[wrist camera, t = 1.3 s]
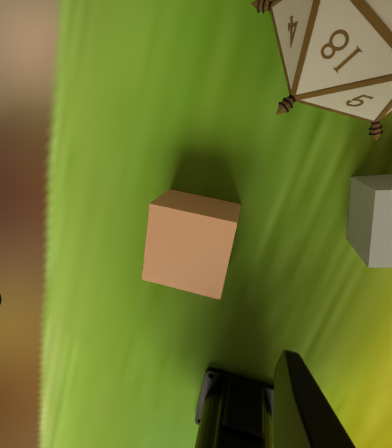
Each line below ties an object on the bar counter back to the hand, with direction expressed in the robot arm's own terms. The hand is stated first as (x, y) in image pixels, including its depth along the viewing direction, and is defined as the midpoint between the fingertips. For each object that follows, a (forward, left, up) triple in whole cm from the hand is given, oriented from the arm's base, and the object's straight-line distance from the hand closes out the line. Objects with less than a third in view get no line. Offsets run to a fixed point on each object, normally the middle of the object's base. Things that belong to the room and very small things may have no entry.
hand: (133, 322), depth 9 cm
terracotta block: (-1, 0, -12) cm, 12 cm away
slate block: (+3, -11, -12) cm, 16 cm away
